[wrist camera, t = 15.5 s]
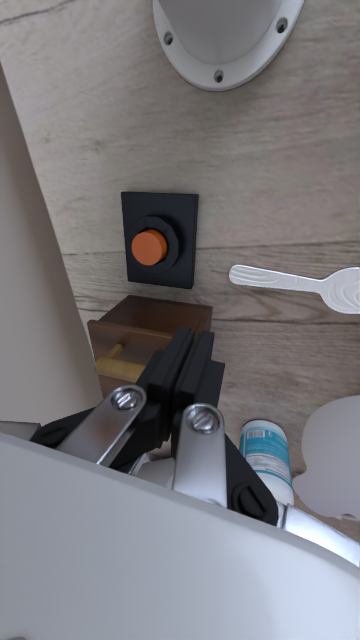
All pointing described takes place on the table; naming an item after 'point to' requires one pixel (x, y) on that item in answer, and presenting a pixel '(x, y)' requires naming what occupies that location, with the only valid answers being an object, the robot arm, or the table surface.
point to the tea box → (159, 315)
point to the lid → (123, 352)
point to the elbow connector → (158, 472)
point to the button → (149, 247)
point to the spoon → (308, 285)
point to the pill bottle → (268, 457)
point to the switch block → (174, 224)
